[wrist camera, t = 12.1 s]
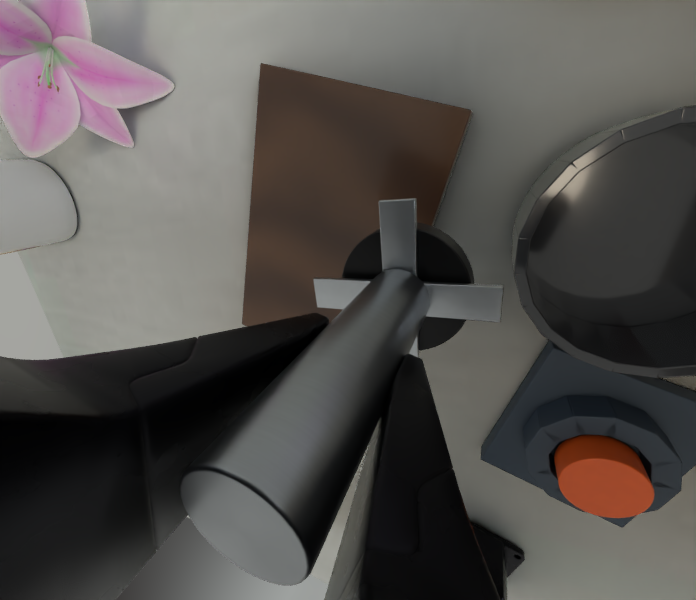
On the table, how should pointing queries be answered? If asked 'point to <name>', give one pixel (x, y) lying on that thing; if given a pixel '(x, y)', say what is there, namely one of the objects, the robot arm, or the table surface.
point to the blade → (331, 398)
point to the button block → (594, 423)
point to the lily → (64, 77)
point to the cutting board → (334, 179)
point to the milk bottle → (33, 206)
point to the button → (603, 476)
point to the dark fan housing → (616, 247)
